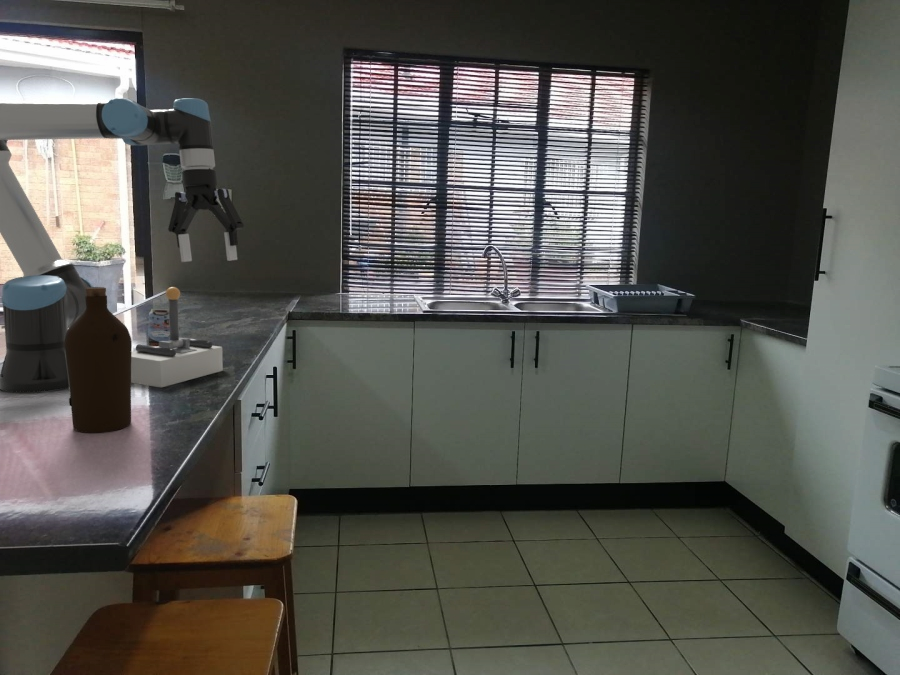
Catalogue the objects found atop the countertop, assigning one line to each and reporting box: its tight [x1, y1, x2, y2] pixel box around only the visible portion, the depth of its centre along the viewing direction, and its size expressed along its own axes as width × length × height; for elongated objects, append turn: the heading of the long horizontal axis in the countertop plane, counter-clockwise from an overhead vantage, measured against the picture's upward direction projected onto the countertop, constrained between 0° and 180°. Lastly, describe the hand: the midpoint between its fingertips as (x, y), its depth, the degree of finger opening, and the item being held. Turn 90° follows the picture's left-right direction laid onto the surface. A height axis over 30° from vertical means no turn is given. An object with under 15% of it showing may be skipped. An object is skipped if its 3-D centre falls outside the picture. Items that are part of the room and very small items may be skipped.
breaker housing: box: [131, 336, 224, 388], centre depth 161 cm, size 20×13×8 cm, turn 158°
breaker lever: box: [165, 286, 183, 348], centre depth 161 cm, size 4×3×15 cm
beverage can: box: [147, 308, 170, 347], centre depth 188 cm, size 6×7×12 cm
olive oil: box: [64, 286, 133, 434], centre depth 121 cm, size 11×11×25 cm
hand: (209, 261), depth 161 cm, fingers open, 13 cm apart
